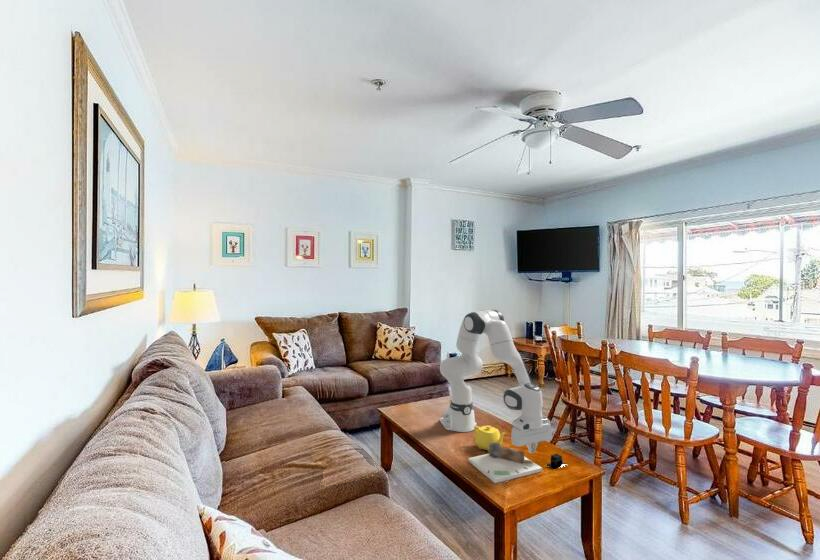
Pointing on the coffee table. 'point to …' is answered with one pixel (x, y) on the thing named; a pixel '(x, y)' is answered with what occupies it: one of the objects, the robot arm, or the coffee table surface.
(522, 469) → the dial plate
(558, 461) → the black flanged block
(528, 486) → the coffee table surface
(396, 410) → the coffee table surface
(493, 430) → the teapot
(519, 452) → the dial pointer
